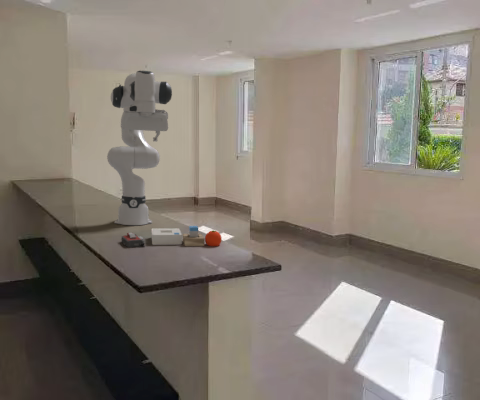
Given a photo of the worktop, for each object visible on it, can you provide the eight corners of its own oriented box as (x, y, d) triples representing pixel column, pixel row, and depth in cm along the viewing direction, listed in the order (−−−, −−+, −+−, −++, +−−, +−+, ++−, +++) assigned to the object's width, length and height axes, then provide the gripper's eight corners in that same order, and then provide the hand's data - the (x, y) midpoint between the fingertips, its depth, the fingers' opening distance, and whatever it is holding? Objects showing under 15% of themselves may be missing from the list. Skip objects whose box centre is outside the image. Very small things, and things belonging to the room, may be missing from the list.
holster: (182, 242, 210) (182, 233, 210) (201, 242, 212) (201, 233, 212) (184, 248, 201) (185, 238, 200) (204, 248, 202) (204, 238, 202)
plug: (188, 242, 208) (189, 225, 207) (196, 242, 208) (197, 225, 207) (189, 244, 204) (189, 227, 203) (197, 243, 205) (198, 227, 204)
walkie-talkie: (149, 247, 202) (136, 237, 219) (149, 236, 201) (137, 228, 219) (128, 249, 198) (117, 239, 216) (128, 238, 197) (117, 229, 215)
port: (151, 239, 215) (151, 227, 214) (178, 239, 217) (179, 227, 216) (152, 247, 201) (152, 234, 200) (181, 246, 203) (181, 234, 203)
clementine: (205, 244, 209) (206, 228, 208) (222, 245, 209) (222, 228, 208) (203, 248, 201) (204, 231, 200) (220, 249, 201) (221, 232, 200)
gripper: (165, 110, 219) (165, 141, 220) (119, 107, 210) (119, 140, 211) (170, 109, 213) (169, 141, 215) (123, 107, 204) (123, 140, 206)
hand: (144, 141), depth 213 cm, fingers open, 8 cm apart
